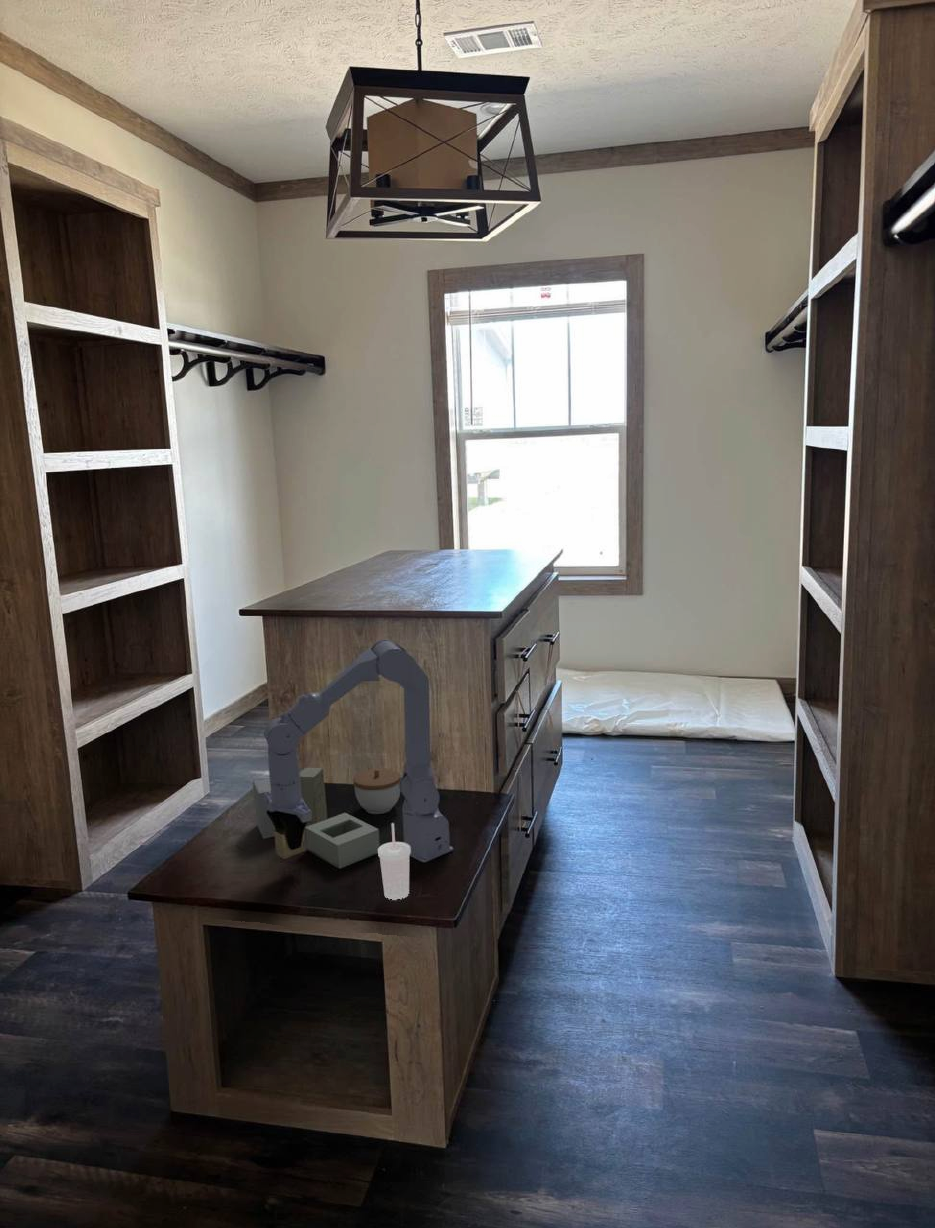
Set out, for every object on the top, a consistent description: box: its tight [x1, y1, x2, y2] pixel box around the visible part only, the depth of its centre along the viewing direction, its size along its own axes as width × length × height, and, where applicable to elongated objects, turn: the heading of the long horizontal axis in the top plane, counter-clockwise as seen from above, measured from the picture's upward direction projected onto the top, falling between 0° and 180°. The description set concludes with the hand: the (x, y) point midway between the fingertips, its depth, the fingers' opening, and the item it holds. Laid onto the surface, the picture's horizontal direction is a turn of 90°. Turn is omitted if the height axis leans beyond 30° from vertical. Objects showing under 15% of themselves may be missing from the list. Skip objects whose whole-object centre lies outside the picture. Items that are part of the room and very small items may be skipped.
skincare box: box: [299, 766, 328, 827], centre depth 197 cm, size 6×4×12 cm
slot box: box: [305, 812, 381, 869], centre depth 184 cm, size 12×10×5 cm
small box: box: [252, 777, 276, 840], centre depth 195 cm, size 8×6×10 cm
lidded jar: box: [353, 767, 402, 815], centre depth 205 cm, size 11×11×9 cm
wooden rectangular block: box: [274, 827, 307, 860], centre depth 176 cm, size 3×5×5 cm, turn 132°
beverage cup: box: [377, 822, 411, 901], centre depth 165 cm, size 6×6×14 cm
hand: (290, 845), depth 176 cm, fingers closed on wooden rectangular block, 3 cm apart
